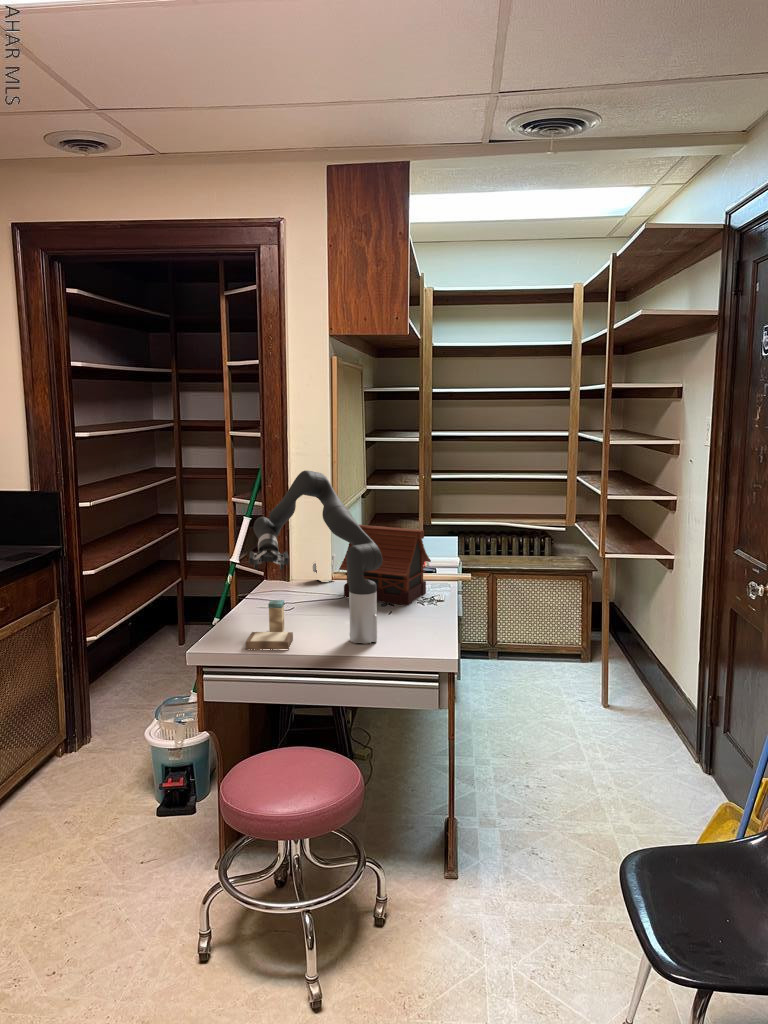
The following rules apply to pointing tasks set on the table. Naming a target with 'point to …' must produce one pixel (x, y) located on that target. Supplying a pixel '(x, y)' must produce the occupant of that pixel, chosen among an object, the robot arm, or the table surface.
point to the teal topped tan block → (276, 616)
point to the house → (396, 564)
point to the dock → (269, 640)
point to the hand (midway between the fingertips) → (269, 567)
